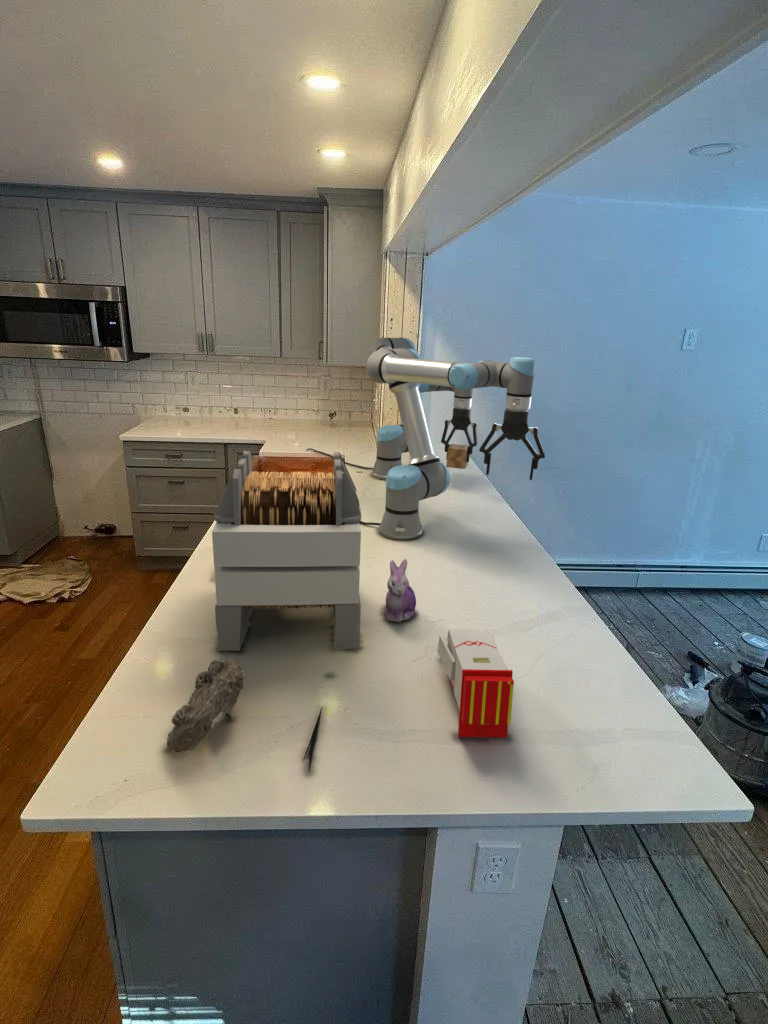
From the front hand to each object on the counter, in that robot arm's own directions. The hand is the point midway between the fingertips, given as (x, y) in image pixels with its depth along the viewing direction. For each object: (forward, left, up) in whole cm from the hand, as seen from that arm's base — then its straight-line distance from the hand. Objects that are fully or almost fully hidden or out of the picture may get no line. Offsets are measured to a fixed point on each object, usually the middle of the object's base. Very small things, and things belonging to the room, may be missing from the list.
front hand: (509, 476), depth 181 cm
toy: (+44, -65, -26) cm, 82 cm away
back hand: (-54, +37, -12) cm, 67 cm away
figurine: (+11, -55, -26) cm, 62 cm away
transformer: (-5, -78, -26) cm, 82 cm away
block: (-54, +37, -14) cm, 67 cm away
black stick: (+31, -94, -26) cm, 103 cm away
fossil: (+18, -110, -26) cm, 115 cm away
